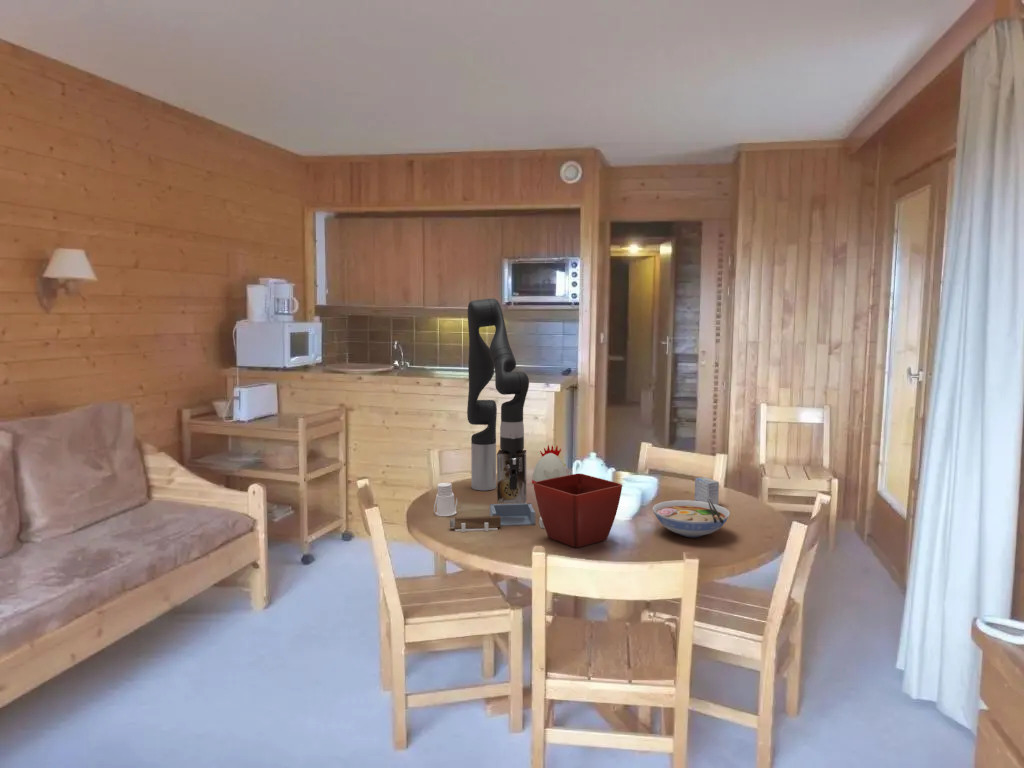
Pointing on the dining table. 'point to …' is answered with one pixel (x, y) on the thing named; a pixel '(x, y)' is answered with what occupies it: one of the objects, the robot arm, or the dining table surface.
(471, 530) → the pin mount
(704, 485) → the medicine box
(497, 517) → the lock bar
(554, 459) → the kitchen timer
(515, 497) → the cookie box
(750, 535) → the dining table surface
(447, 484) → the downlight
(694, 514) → the ramen bowl
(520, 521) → the dock
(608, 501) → the plant pot
